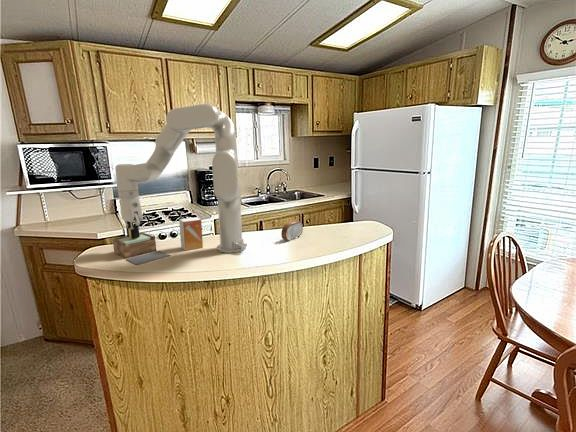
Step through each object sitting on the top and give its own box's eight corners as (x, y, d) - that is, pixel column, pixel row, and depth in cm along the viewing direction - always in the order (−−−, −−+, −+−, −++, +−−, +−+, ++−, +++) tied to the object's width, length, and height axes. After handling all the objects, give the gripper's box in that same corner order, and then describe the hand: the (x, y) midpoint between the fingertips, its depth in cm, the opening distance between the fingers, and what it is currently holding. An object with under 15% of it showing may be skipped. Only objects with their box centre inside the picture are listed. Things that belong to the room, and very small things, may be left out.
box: (156, 250, 138) (155, 236, 137) (125, 258, 129) (123, 243, 127) (144, 246, 145) (142, 232, 144) (114, 253, 136) (112, 238, 134)
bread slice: (298, 235, 162) (298, 218, 160) (304, 235, 160) (304, 219, 158) (280, 242, 150) (280, 224, 148) (286, 243, 148) (286, 225, 146)
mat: (170, 255, 132) (170, 255, 132) (136, 265, 122) (136, 264, 122) (159, 251, 138) (159, 250, 138) (125, 259, 128) (125, 259, 127)
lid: (150, 239, 138) (149, 227, 137) (125, 245, 130) (123, 232, 129) (142, 236, 143) (140, 224, 142) (116, 241, 135) (115, 229, 134)
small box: (185, 251, 138) (182, 221, 135) (181, 247, 143) (178, 219, 140) (203, 247, 142) (201, 219, 140) (198, 244, 147) (196, 216, 145)
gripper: (147, 195, 130) (151, 238, 134) (129, 191, 140) (133, 232, 144) (128, 197, 124) (133, 242, 128) (110, 193, 135) (116, 235, 138)
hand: (133, 236), depth 136 cm, fingers closed on lid, 3 cm apart
